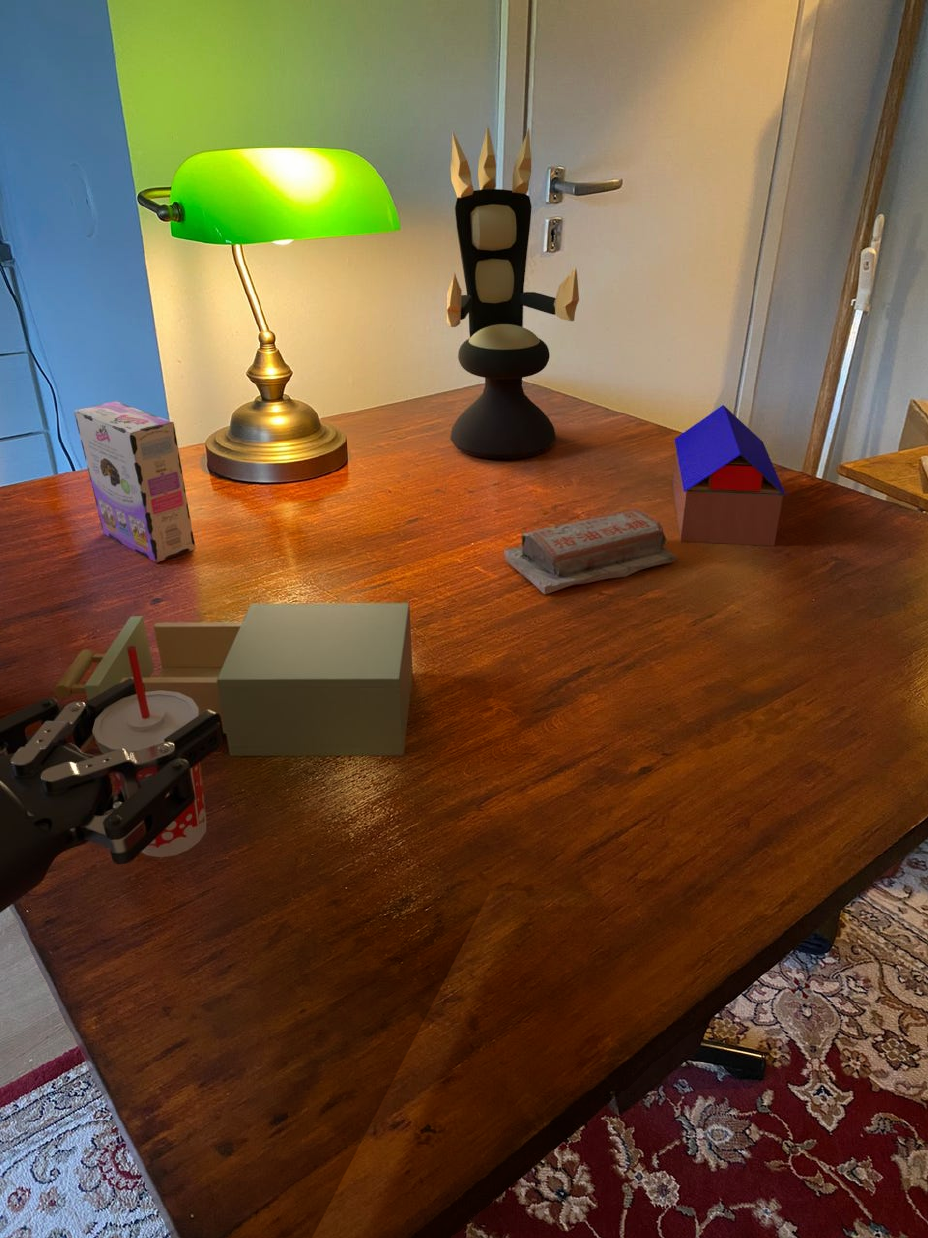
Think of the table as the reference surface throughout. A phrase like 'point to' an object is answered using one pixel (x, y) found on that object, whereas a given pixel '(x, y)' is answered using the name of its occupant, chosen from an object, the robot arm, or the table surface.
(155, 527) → the candy box
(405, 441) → the table surface
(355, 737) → the cabinet
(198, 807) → the beverage cup
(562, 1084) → the table surface
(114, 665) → the drawer
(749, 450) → the house
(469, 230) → the spiked throne chair
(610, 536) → the packaged product
